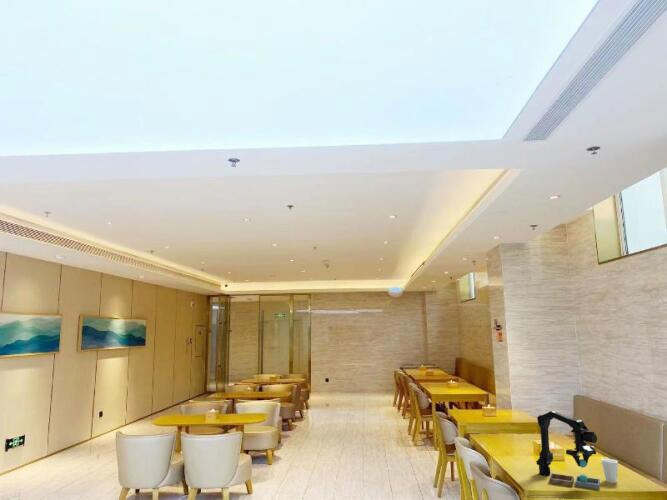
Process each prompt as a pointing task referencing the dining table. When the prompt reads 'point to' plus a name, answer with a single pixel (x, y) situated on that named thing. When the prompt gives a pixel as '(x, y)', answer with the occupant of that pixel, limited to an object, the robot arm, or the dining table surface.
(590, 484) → the charcoal tray
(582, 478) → the ball
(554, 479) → the walnut tray
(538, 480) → the dining table surface
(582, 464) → the teal ball
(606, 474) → the foam cup
